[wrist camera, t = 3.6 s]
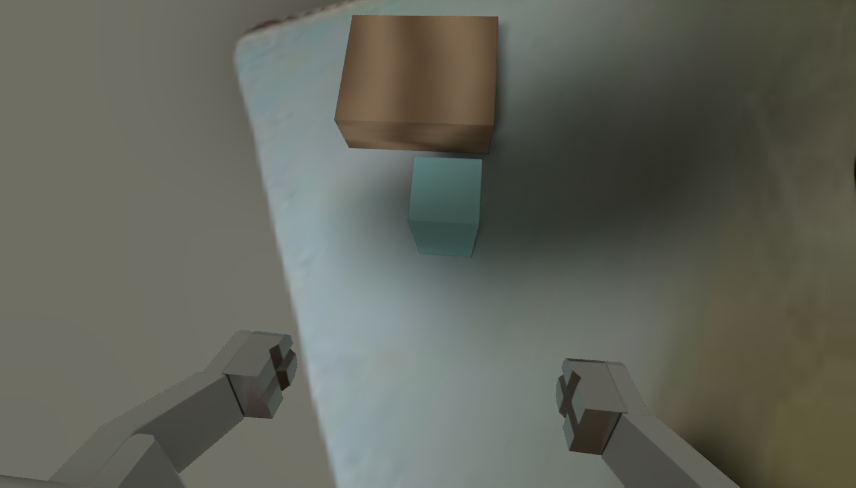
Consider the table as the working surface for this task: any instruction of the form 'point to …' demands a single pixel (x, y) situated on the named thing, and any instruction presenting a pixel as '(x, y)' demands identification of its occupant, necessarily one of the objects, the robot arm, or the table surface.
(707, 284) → the table surface
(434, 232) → the teal column
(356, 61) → the walnut block
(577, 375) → the robot arm
